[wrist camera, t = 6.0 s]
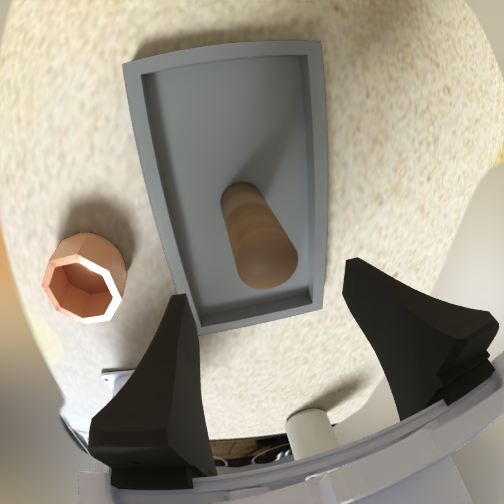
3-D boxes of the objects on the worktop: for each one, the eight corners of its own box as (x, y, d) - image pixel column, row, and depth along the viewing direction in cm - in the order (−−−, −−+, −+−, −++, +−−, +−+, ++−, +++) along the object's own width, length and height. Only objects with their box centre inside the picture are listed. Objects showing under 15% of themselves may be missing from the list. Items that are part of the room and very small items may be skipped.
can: (332, 408, 44) (355, 464, 34) (301, 427, 46) (319, 481, 36) (308, 403, 41) (332, 467, 31) (274, 423, 43) (292, 484, 33)
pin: (263, 216, 21) (298, 282, 15) (223, 224, 21) (241, 294, 15) (260, 178, 20) (297, 231, 13) (217, 185, 20) (232, 243, 13)
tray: (314, 295, 28) (322, 308, 26) (191, 320, 26) (192, 336, 25) (309, 44, 16) (320, 41, 14) (129, 66, 14) (122, 63, 13)
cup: (135, 288, 23) (130, 317, 20) (76, 299, 23) (66, 326, 20) (111, 224, 20) (99, 248, 17) (47, 241, 19) (31, 265, 16)
